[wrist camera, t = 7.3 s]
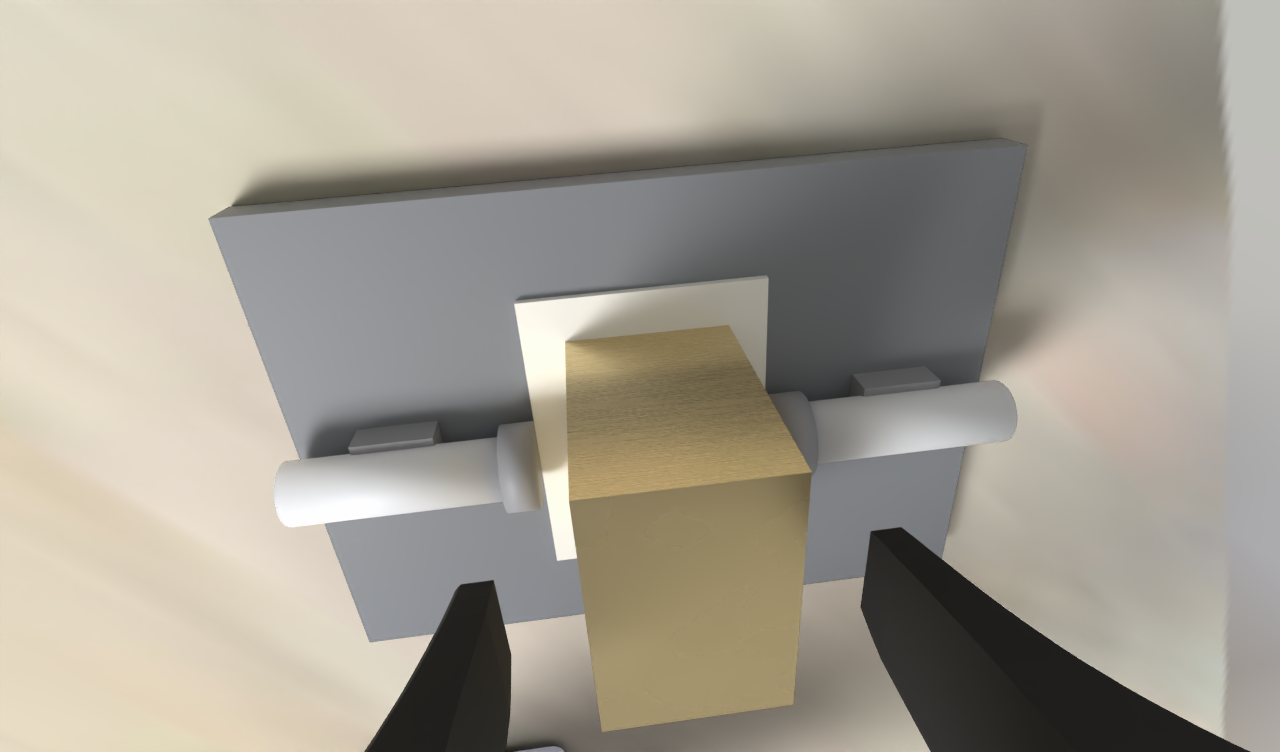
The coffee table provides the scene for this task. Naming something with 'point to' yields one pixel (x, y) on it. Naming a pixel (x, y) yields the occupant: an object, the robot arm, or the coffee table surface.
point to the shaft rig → (608, 307)
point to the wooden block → (684, 526)
